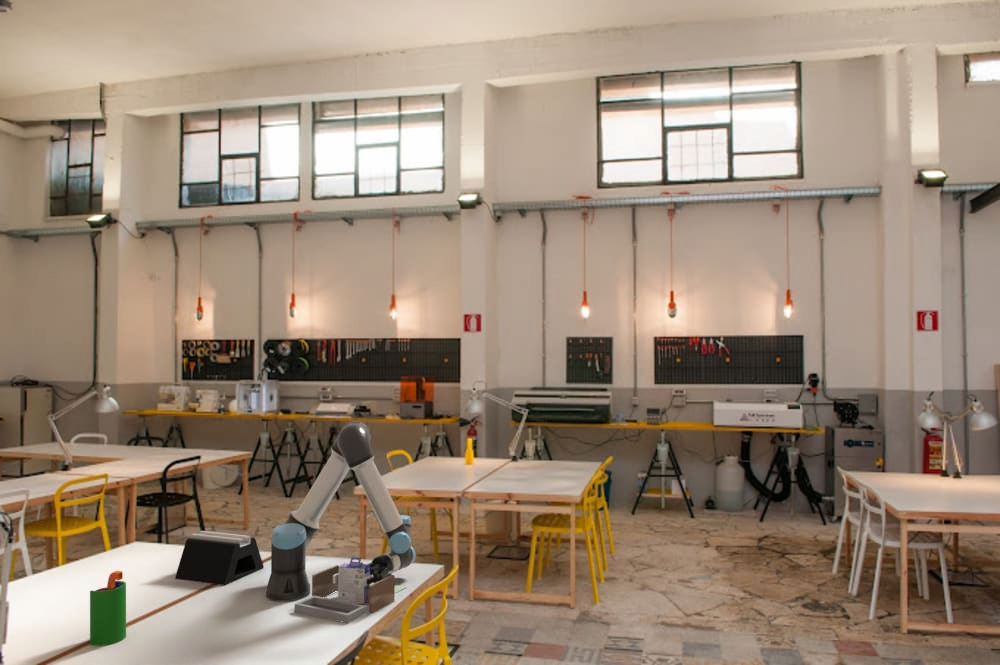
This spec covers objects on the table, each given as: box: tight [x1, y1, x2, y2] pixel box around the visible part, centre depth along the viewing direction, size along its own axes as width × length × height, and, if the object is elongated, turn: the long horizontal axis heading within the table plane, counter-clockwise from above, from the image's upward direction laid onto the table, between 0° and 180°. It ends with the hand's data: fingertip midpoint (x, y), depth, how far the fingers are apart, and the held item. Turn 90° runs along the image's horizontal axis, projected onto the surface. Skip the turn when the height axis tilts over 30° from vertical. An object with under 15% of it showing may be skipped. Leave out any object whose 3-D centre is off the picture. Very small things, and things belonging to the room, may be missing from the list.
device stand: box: [174, 530, 264, 586], centre depth 286 cm, size 22×22×15 cm
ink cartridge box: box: [337, 556, 370, 605], centre depth 255 cm, size 10×6×14 cm, turn 78°
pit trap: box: [294, 595, 367, 624], centre depth 244 cm, size 22×9×2 cm, turn 63°
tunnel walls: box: [311, 564, 396, 615], centre depth 255 cm, size 25×13×9 cm, turn 63°
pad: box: [370, 583, 407, 595], centre depth 268 cm, size 16×12×1 cm
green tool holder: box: [89, 570, 127, 647], centre depth 222 cm, size 10×9×20 cm
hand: (346, 581), depth 252 cm, fingers closed on ink cartridge box, 10 cm apart
